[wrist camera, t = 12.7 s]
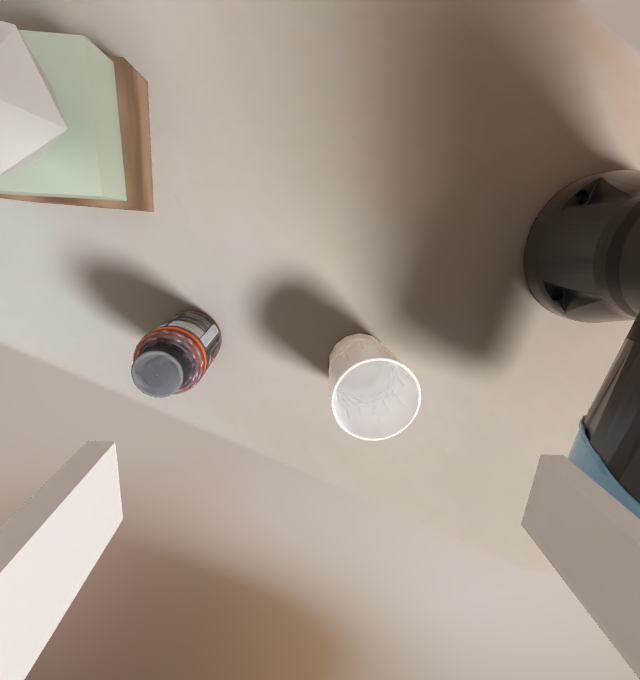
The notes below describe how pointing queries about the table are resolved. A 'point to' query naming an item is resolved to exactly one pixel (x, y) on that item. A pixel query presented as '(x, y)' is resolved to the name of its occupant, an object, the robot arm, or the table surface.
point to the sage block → (75, 124)
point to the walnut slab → (123, 146)
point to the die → (24, 104)
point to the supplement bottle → (176, 354)
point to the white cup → (371, 388)
